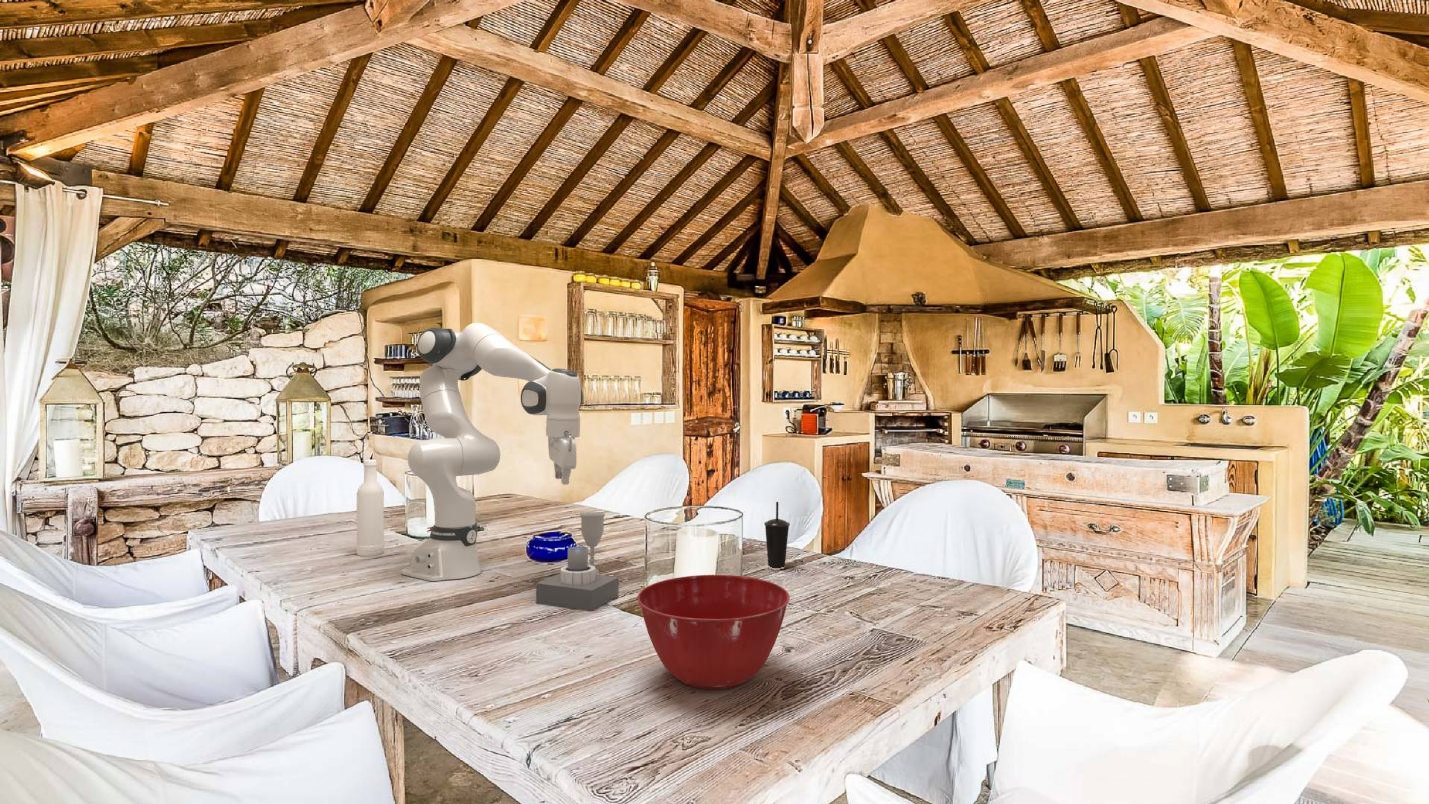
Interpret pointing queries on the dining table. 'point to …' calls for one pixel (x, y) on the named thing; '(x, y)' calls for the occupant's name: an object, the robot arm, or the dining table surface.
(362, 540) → the bottle
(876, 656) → the dining table surface
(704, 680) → the mixing bowl
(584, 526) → the chalice
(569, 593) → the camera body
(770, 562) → the drinking cup
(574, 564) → the lens
